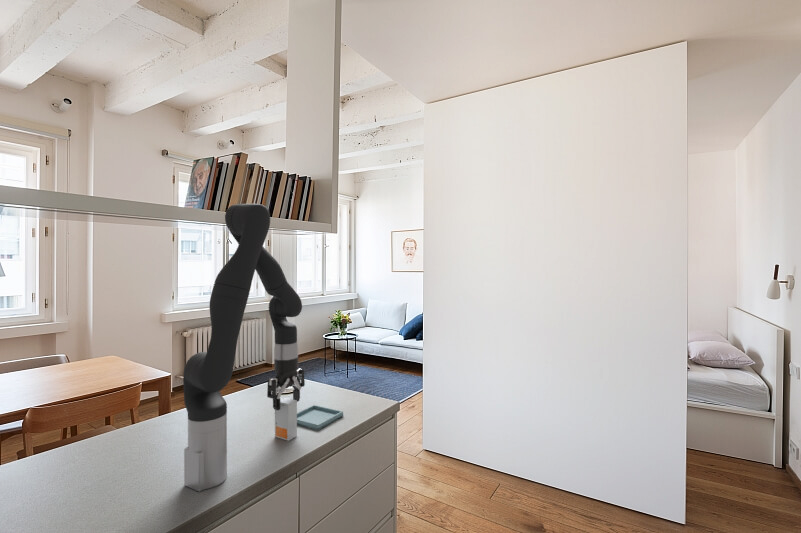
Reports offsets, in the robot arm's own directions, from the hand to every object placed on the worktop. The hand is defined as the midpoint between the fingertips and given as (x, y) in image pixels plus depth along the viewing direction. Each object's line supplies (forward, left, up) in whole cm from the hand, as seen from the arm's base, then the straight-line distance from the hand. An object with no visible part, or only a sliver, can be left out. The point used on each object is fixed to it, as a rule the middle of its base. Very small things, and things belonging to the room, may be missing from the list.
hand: (287, 405), depth 130 cm
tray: (+16, +1, -10) cm, 19 cm away
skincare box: (0, 0, -11) cm, 11 cm away
